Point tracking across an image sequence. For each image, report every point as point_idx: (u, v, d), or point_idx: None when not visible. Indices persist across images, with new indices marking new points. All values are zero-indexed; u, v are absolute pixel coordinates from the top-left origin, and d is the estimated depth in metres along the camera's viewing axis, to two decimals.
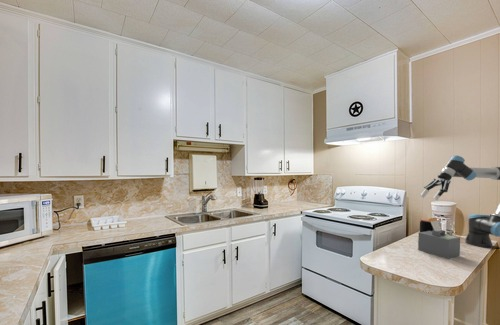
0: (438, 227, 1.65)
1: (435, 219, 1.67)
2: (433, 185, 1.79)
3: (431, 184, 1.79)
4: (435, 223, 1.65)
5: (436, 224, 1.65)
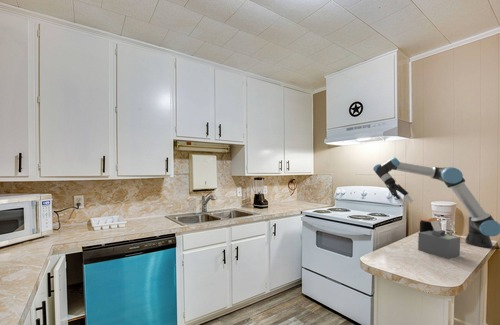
0: (438, 227, 1.65)
1: (435, 219, 1.67)
2: (399, 190, 1.92)
3: (399, 191, 1.93)
4: (435, 223, 1.65)
5: (436, 224, 1.65)
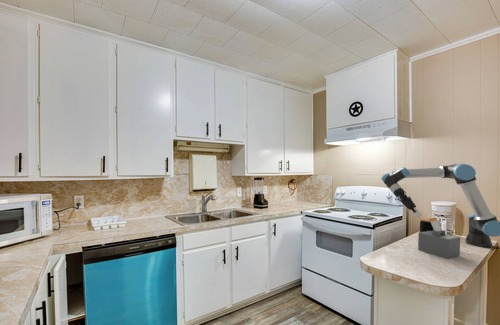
0: (438, 227, 1.65)
1: (435, 219, 1.67)
2: None
3: None
4: (435, 223, 1.65)
5: (436, 224, 1.65)
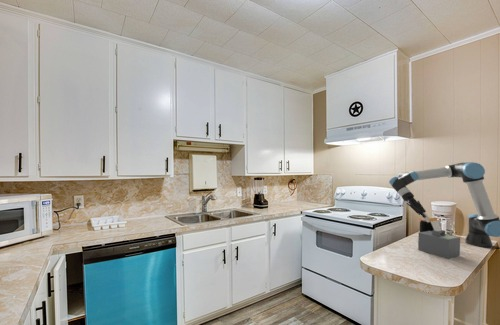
0: (438, 227, 1.65)
1: (435, 219, 1.67)
2: None
3: None
4: (435, 223, 1.65)
5: (436, 224, 1.65)
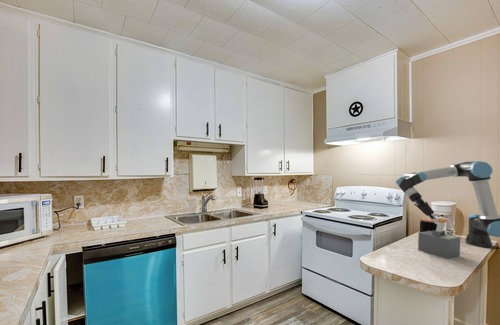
0: (441, 228, 1.63)
1: (444, 221, 1.62)
2: None
3: None
4: (441, 225, 1.62)
5: (442, 226, 1.62)
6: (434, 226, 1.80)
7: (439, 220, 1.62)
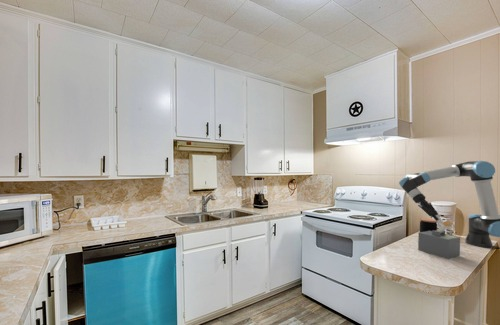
0: (443, 230, 1.62)
1: (449, 225, 1.59)
2: None
3: None
4: (445, 227, 1.60)
5: (444, 228, 1.61)
6: (434, 226, 1.80)
7: (444, 223, 1.59)
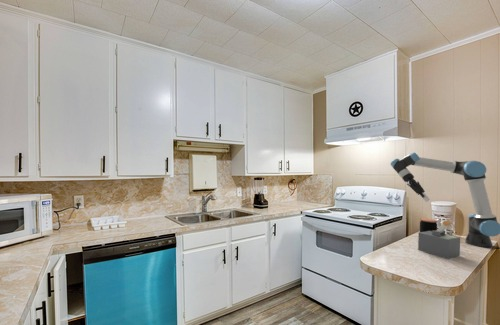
0: (443, 230, 1.62)
1: (449, 224, 1.60)
2: None
3: None
4: (444, 227, 1.60)
5: (444, 227, 1.61)
6: (434, 226, 1.80)
7: (444, 222, 1.59)
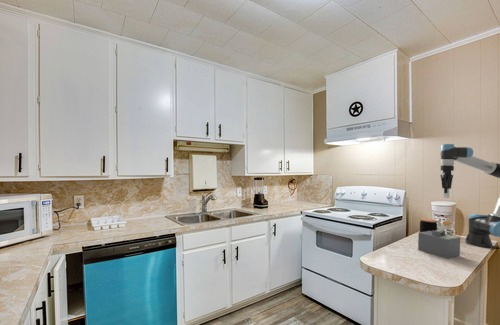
0: (443, 230, 1.62)
1: (449, 224, 1.60)
2: None
3: None
4: (444, 227, 1.60)
5: (444, 227, 1.61)
6: (434, 226, 1.80)
7: (444, 222, 1.59)
